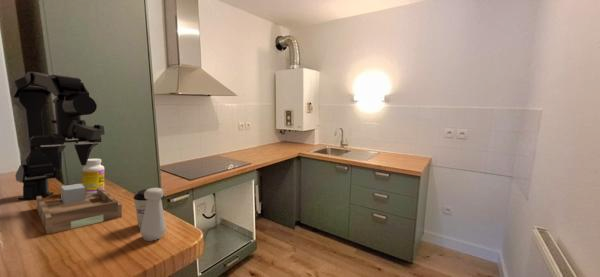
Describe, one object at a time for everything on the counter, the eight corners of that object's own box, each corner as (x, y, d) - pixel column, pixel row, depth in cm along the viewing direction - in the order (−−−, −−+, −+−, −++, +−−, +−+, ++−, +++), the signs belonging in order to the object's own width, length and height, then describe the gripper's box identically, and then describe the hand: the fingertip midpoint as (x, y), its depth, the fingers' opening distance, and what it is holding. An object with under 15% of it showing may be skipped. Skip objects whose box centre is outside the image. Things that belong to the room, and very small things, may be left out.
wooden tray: (36, 208, 78) (36, 193, 77) (100, 197, 90) (100, 184, 90) (47, 234, 63) (46, 215, 62) (121, 217, 75) (121, 201, 75)
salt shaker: (154, 244, 61) (154, 193, 60) (134, 241, 62) (134, 190, 61) (170, 234, 67) (171, 187, 66) (152, 231, 68) (153, 184, 67)
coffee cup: (137, 221, 73) (137, 188, 72) (163, 219, 76) (163, 187, 75) (129, 231, 67) (130, 195, 66) (158, 229, 69) (159, 194, 68)
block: (61, 199, 81) (61, 186, 81) (81, 196, 85) (81, 183, 85) (64, 204, 77) (64, 190, 77) (85, 200, 81) (85, 187, 81)
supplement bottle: (100, 194, 94) (100, 161, 93) (79, 195, 92) (78, 161, 91) (107, 189, 100) (107, 158, 99) (86, 189, 98) (86, 158, 97)
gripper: (70, 114, 67) (74, 170, 68) (116, 117, 86) (118, 162, 86) (26, 115, 66) (30, 172, 67) (82, 119, 85) (85, 163, 85)
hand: (71, 167), depth 76 cm, fingers open, 9 cm apart
